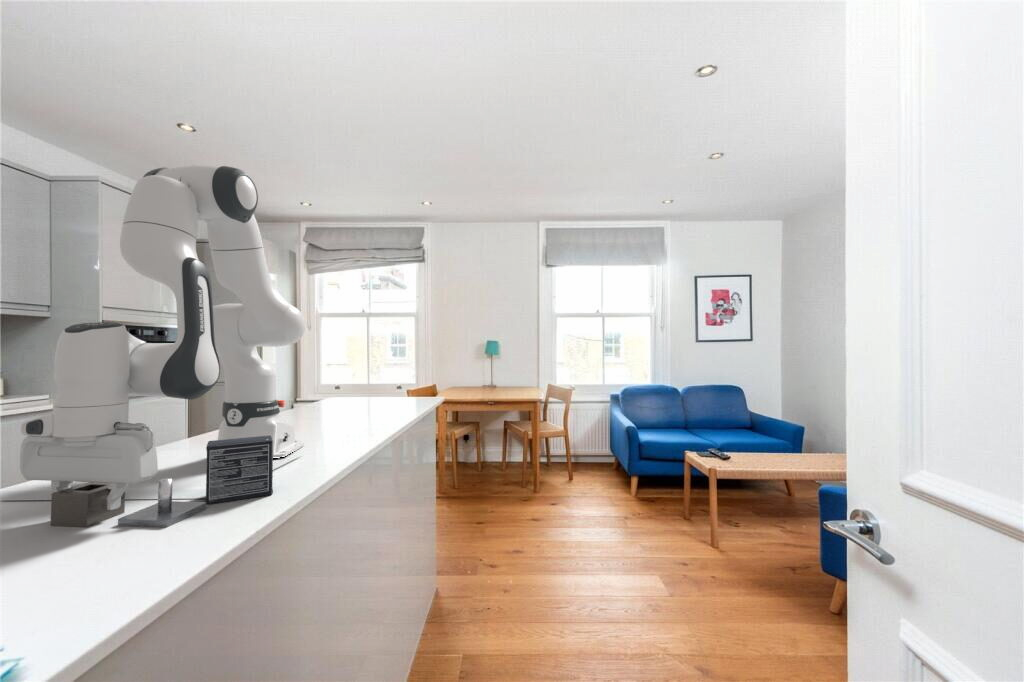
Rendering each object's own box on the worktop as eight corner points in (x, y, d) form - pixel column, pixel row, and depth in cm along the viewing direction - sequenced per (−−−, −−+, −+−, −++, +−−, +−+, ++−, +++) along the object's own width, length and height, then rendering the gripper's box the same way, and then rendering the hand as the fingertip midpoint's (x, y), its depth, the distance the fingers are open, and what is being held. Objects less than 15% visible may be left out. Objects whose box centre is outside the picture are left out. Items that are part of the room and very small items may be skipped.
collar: (90, 511, 73) (91, 481, 73) (124, 512, 72) (125, 482, 72) (50, 525, 67) (51, 493, 67) (86, 527, 66) (87, 494, 66)
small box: (270, 486, 87) (272, 433, 87) (273, 495, 81) (274, 439, 82) (206, 495, 81) (208, 439, 81) (204, 505, 76) (205, 446, 76)
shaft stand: (162, 506, 75) (163, 472, 75) (206, 508, 74) (207, 473, 75) (117, 525, 67) (118, 486, 67) (166, 527, 66) (167, 488, 67)
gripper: (169, 420, 72) (167, 503, 72) (55, 417, 73) (53, 499, 73) (134, 426, 66) (131, 518, 66) (10, 423, 67) (7, 513, 67)
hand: (89, 508), depth 69 cm, fingers closed on collar, 6 cm apart
